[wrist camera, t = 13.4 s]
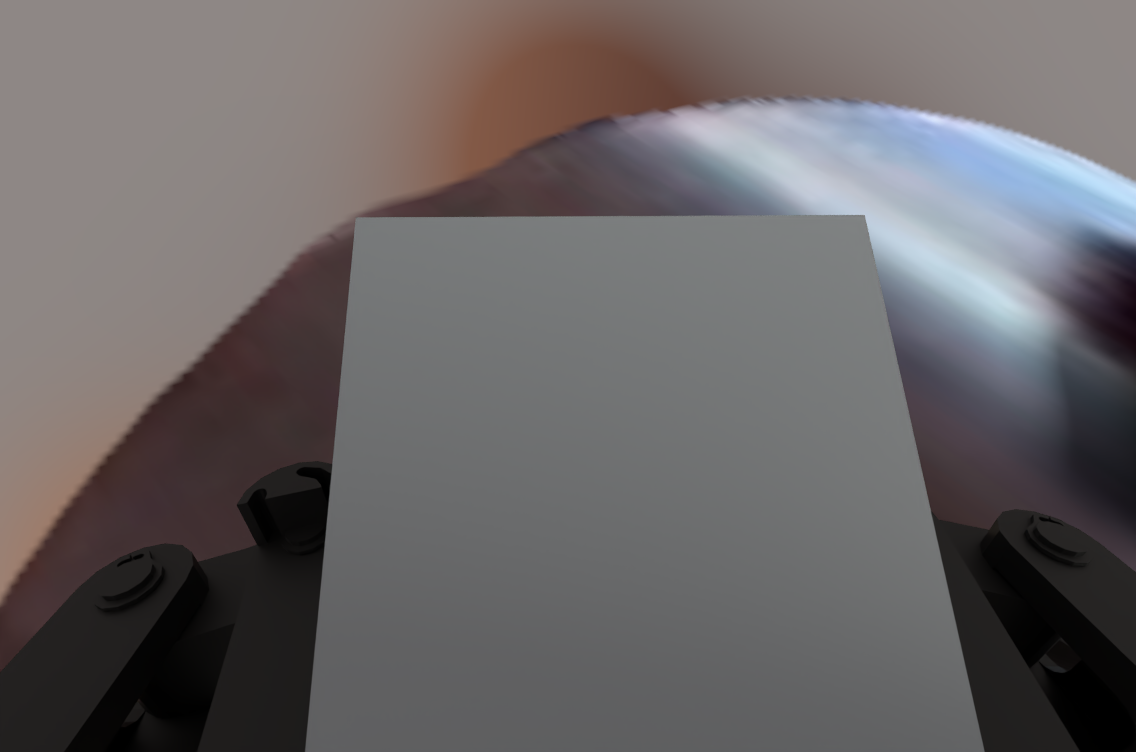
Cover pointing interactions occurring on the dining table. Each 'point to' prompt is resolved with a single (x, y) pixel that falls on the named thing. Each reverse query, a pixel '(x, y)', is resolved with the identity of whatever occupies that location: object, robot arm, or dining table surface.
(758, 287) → the grey block
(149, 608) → the robot arm
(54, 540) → the dining table surface
